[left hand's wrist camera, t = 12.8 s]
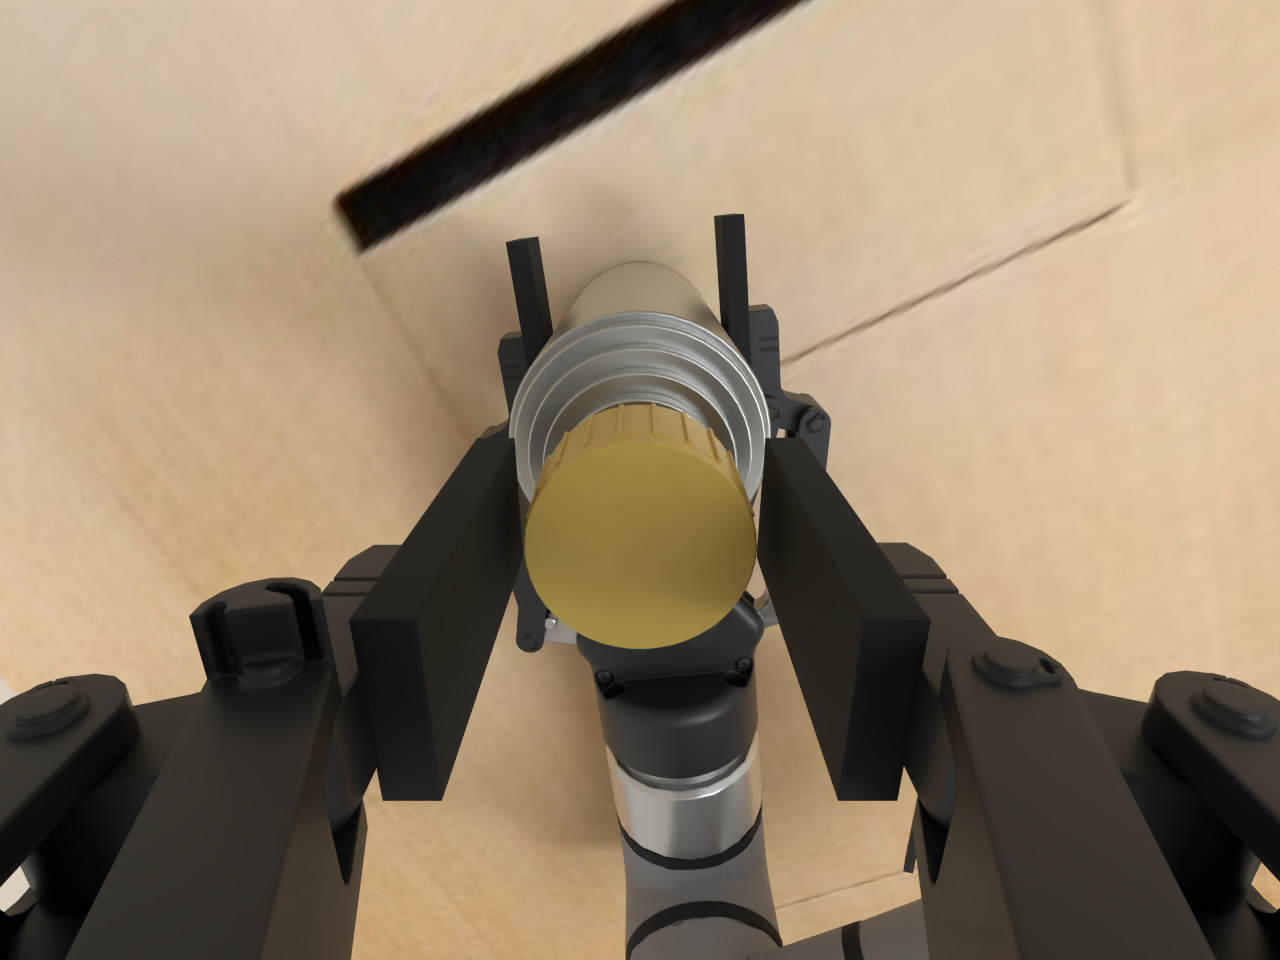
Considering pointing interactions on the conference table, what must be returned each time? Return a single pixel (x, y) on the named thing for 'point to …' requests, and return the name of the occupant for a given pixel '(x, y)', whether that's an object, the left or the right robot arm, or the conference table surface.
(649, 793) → the right robot arm
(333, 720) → the left robot arm
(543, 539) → the cap
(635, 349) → the bottle
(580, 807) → the conference table surface
